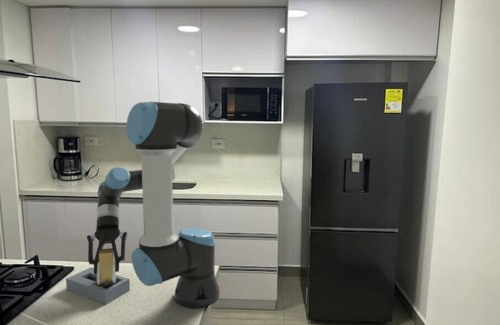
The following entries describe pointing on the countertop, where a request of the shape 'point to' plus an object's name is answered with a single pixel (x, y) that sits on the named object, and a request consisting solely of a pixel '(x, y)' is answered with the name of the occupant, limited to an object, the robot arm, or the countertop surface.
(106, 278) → the peg
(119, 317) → the countertop surface
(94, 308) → the countertop surface
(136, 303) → the countertop surface
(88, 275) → the keyhole block
